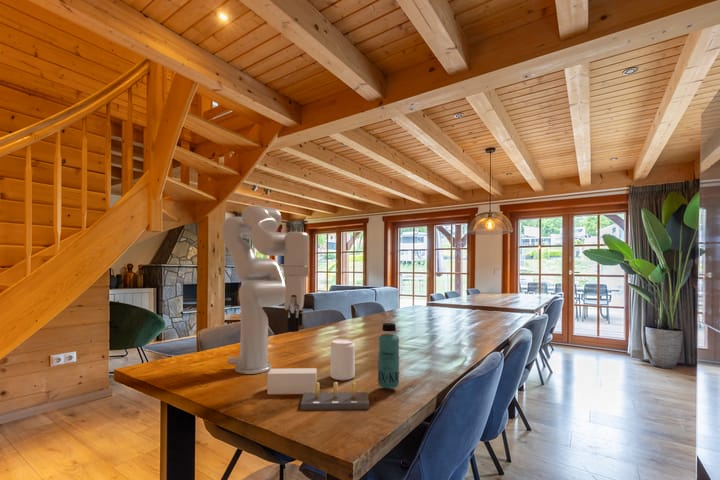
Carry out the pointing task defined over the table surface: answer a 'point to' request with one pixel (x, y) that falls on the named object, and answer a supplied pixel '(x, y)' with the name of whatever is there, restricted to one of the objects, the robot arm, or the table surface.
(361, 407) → the header
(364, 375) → the table surface
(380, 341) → the beverage bottle
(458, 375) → the table surface
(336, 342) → the beverage can
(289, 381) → the white rectangular block
